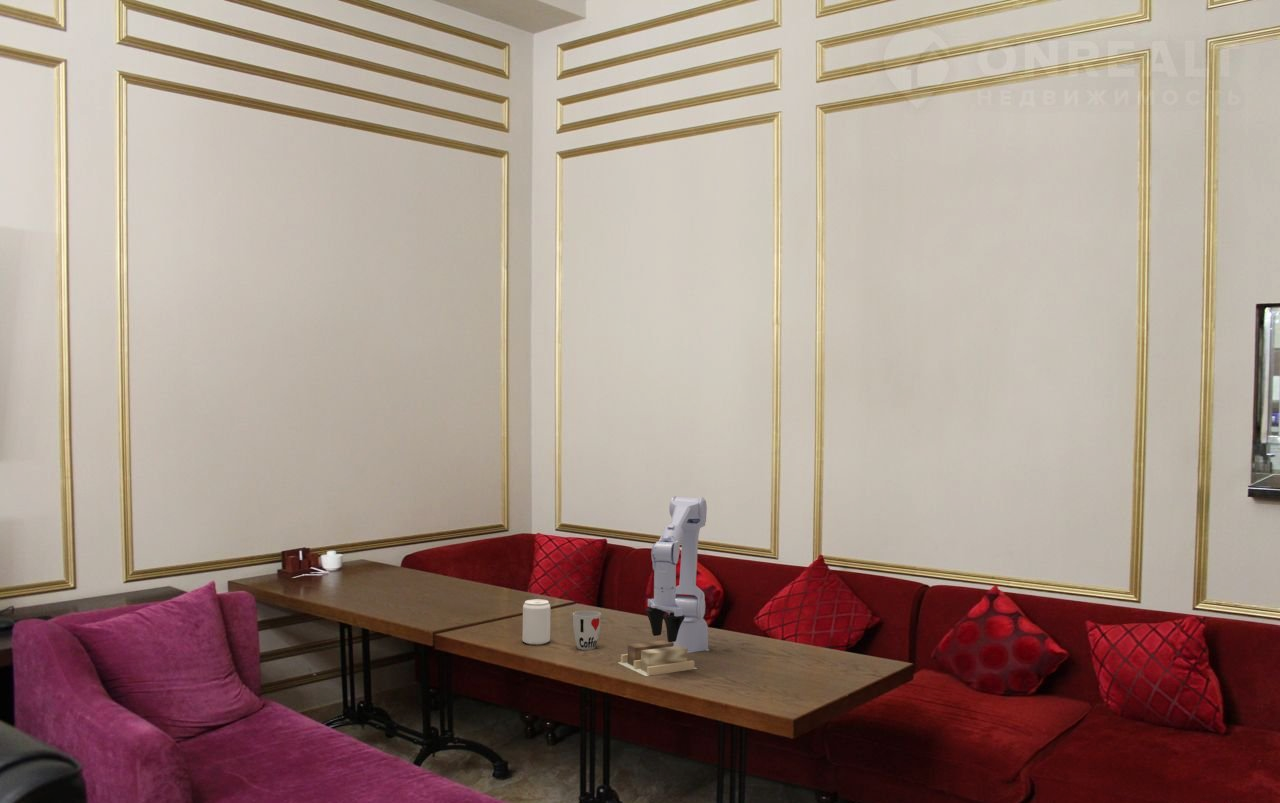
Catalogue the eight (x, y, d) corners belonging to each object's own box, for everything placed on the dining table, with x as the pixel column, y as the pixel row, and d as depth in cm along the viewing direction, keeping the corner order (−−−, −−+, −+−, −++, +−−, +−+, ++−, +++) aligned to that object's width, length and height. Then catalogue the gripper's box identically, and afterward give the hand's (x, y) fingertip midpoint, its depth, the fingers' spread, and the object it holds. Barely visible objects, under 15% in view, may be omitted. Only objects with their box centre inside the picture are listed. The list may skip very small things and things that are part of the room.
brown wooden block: (665, 658, 270) (665, 640, 270) (673, 661, 266) (673, 643, 266) (627, 663, 264) (627, 644, 264) (634, 666, 260) (635, 648, 260)
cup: (575, 652, 278) (575, 616, 278) (569, 645, 285) (570, 611, 286) (603, 650, 280) (603, 615, 280) (596, 644, 288) (597, 609, 288)
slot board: (667, 657, 272) (667, 648, 272) (697, 670, 259) (697, 660, 259) (617, 664, 264) (617, 655, 264) (645, 678, 251) (645, 668, 251)
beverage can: (517, 643, 287) (517, 602, 287) (532, 637, 294) (533, 598, 294) (540, 646, 283) (540, 605, 283) (555, 641, 291) (555, 600, 291)
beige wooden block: (679, 664, 264) (679, 645, 264) (687, 667, 260) (687, 648, 260) (640, 669, 258) (641, 650, 258) (648, 673, 254) (648, 653, 254)
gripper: (638, 583, 263) (637, 634, 263) (666, 593, 251) (665, 646, 251) (660, 581, 267) (660, 631, 267) (689, 590, 254) (688, 643, 254)
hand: (664, 638), depth 259 cm, fingers open, 7 cm apart
